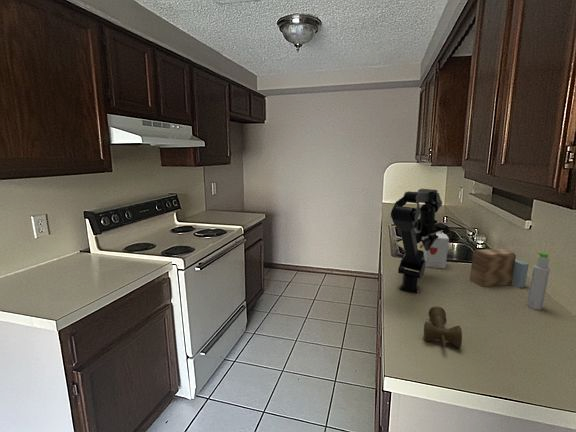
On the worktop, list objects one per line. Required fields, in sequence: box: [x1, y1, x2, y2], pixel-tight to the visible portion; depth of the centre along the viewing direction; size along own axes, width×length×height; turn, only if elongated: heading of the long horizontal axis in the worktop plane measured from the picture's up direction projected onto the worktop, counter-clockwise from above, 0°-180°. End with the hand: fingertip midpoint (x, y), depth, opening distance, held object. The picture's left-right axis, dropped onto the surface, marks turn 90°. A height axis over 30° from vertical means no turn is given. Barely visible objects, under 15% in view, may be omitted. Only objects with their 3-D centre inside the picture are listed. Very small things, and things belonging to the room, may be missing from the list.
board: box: [510, 258, 529, 289], centre depth 136 cm, size 3×14×10 cm, turn 12°
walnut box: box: [469, 248, 517, 288], centre depth 133 cm, size 14×7×14 cm, turn 102°
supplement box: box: [424, 232, 450, 269], centre depth 153 cm, size 9×9×15 cm
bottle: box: [526, 252, 550, 311], centre depth 112 cm, size 4×4×20 cm
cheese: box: [396, 240, 425, 252], centre depth 165 cm, size 15×7×15 cm
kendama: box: [423, 306, 463, 349], centre depth 95 cm, size 6×10×20 cm
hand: (426, 250), depth 138 cm, fingers closed
